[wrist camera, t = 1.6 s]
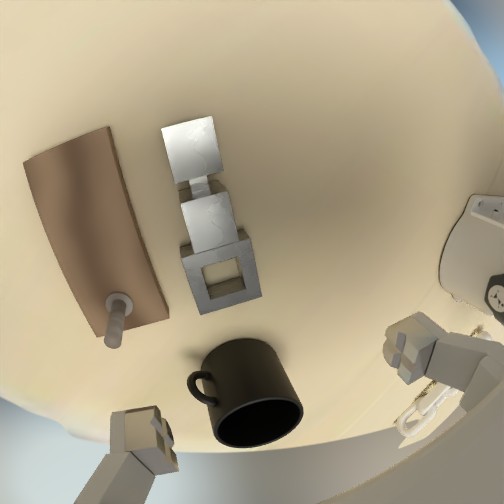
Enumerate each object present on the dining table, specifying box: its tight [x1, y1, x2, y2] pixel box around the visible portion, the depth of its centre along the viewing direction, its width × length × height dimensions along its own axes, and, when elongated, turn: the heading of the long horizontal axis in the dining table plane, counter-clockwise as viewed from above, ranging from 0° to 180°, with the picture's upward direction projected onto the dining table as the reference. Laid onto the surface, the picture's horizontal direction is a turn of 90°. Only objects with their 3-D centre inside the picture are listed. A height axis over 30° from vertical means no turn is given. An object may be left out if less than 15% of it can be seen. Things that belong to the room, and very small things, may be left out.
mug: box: [187, 339, 304, 448], centre depth 30 cm, size 9×12×9 cm
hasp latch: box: [161, 116, 262, 315], centre depth 24 cm, size 16×6×4 cm, turn 11°
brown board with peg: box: [23, 127, 169, 349], centre depth 21 cm, size 8×18×7 cm, turn 11°
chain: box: [396, 331, 492, 437], centre depth 52 cm, size 30×6×6 cm, turn 141°
